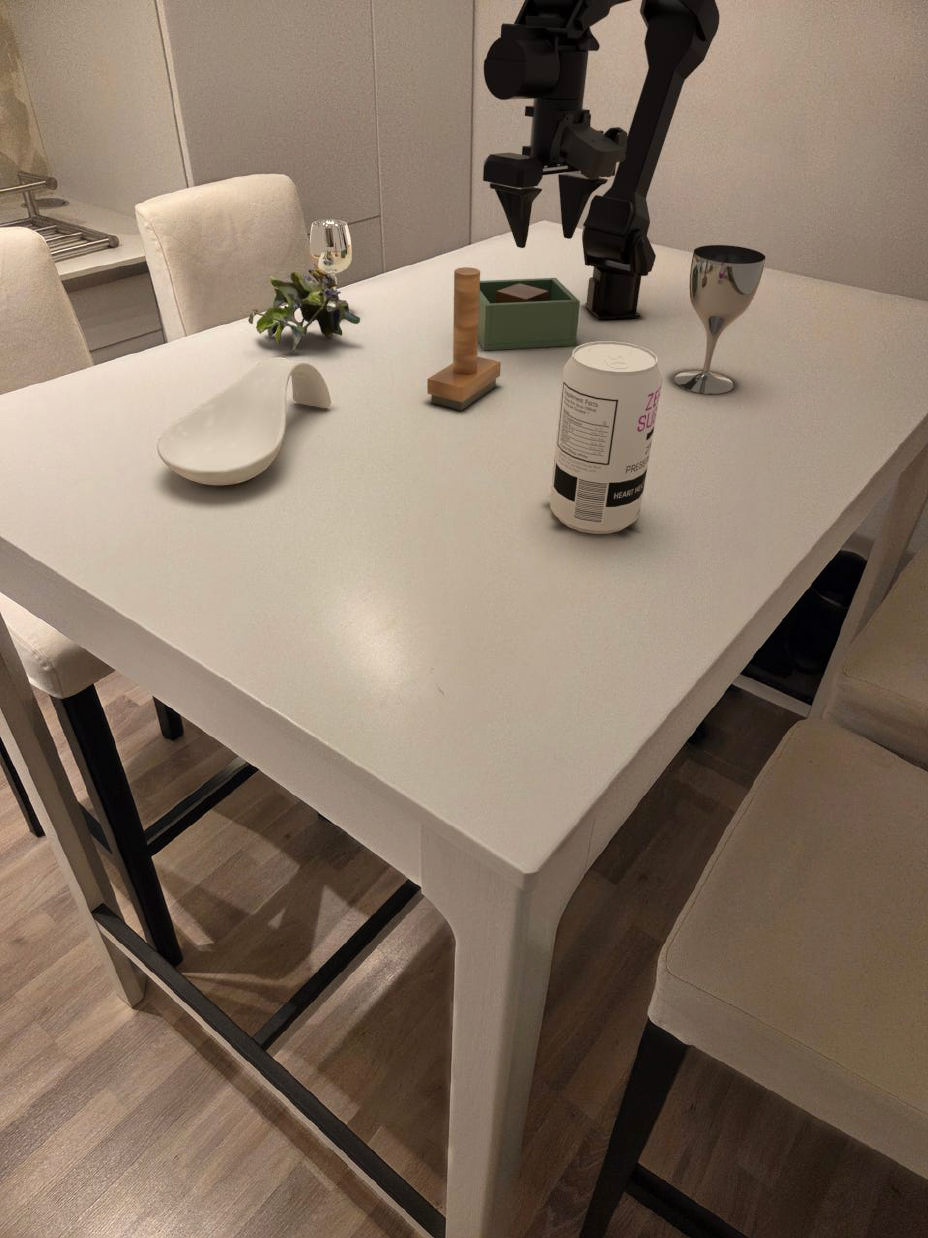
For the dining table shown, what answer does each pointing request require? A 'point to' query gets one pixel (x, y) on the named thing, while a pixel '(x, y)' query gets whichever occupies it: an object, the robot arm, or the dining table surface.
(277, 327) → the passion flower
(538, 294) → the block
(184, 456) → the spoon rest
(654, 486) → the dining table surface
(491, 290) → the bin
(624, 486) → the supplement can
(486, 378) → the stamp
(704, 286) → the wine glass
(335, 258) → the wineglass
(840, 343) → the dining table surface
